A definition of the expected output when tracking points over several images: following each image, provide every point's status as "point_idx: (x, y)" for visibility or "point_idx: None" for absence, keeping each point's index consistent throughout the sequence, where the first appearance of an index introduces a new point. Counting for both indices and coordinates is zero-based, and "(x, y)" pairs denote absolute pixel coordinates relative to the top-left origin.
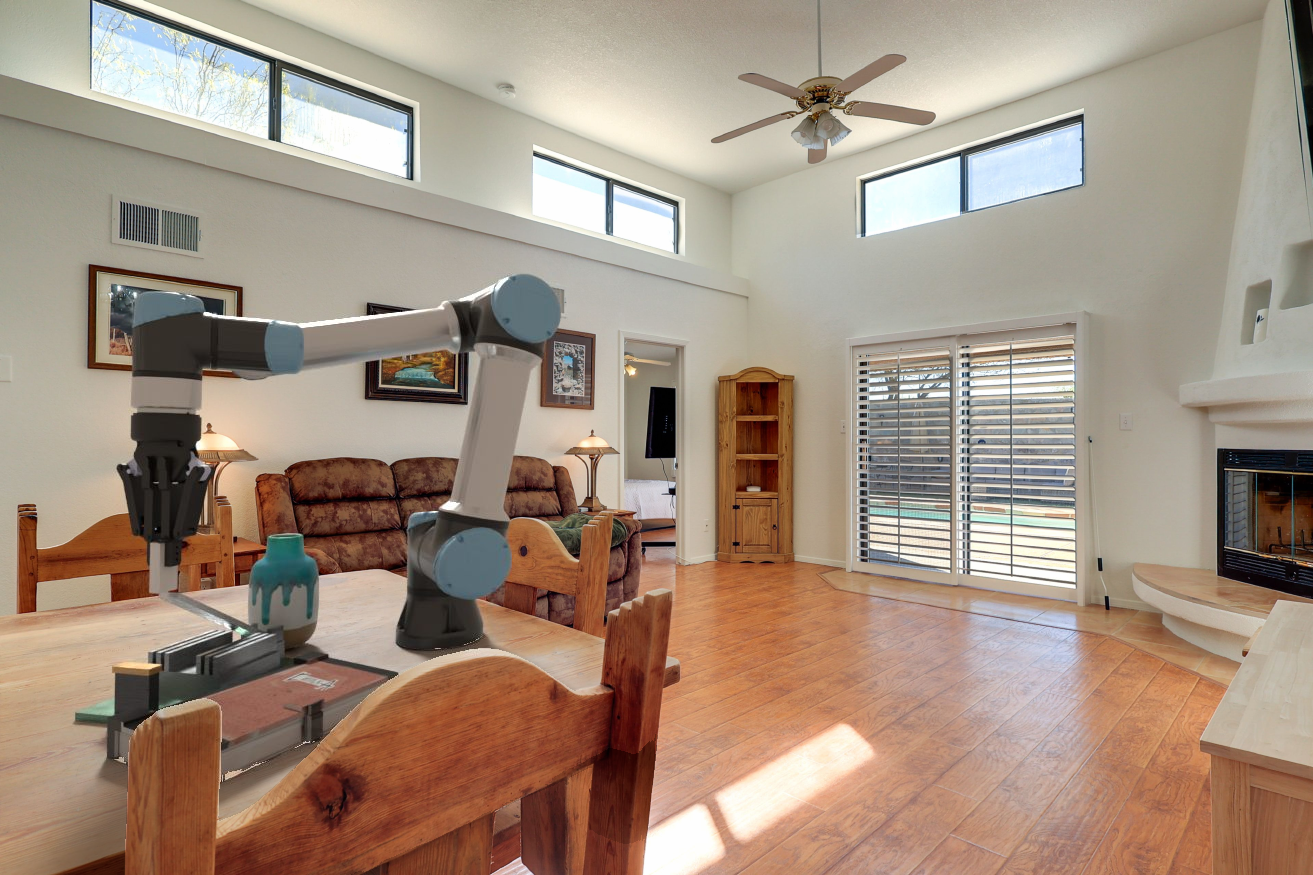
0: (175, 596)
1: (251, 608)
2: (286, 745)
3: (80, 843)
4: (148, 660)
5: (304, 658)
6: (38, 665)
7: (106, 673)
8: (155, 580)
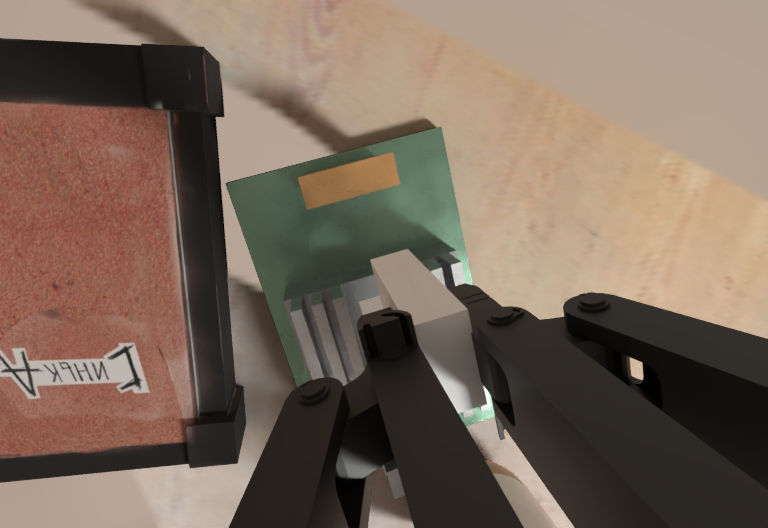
0: (369, 303)
1: (513, 505)
2: None
3: None
4: (454, 257)
5: (206, 428)
6: (749, 234)
7: (610, 269)
8: (393, 267)
